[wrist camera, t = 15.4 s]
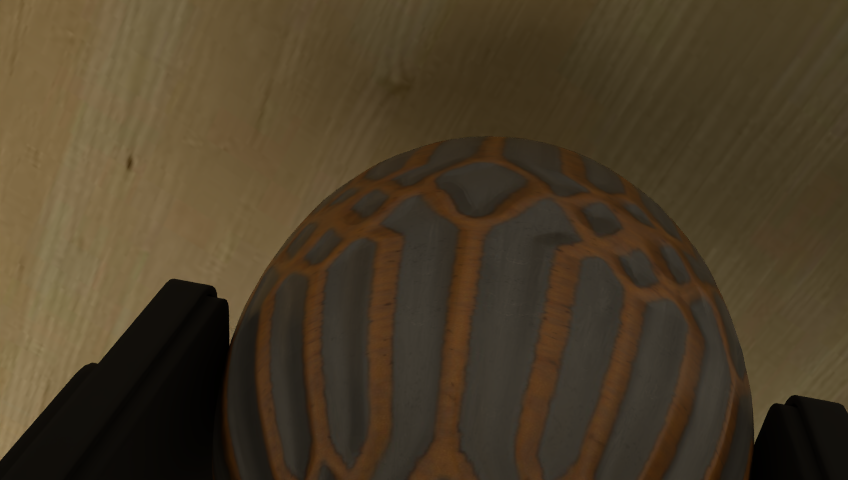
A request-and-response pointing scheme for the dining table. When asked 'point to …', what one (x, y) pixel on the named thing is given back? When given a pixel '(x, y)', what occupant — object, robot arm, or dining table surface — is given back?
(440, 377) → the vase
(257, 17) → the dining table surface
